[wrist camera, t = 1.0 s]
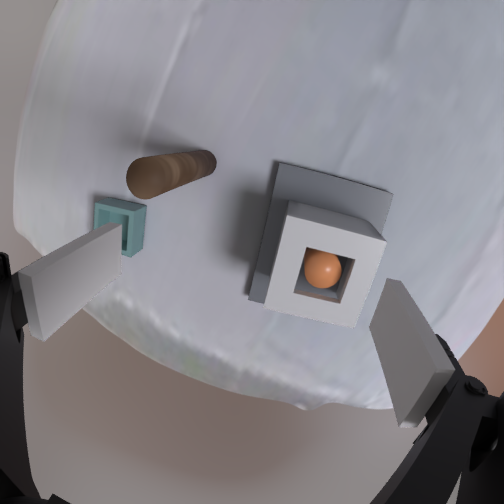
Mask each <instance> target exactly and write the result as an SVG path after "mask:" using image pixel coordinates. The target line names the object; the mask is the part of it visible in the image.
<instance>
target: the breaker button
mask: <svg viewBox="0 0 504 504" xmlns="http://www.w3.org/2000/svg"><path fill="white" fill-rule="evenodd" d="M304 269H305V277H306V279H307V281H308V282H309V283H310V284H311V285H312V286H314V287H317V288H328V287H331V286H333V285H334V284H335V283H336V282H337V281H338V280H339V278H340V276H341V272H342V269H341V265H340V262H339V259H338V256H337V254H333V253H329V252H325V251H321V250H317V249H313V248H309V247H307V248H306V250H305V254H304Z"/></svg>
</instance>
